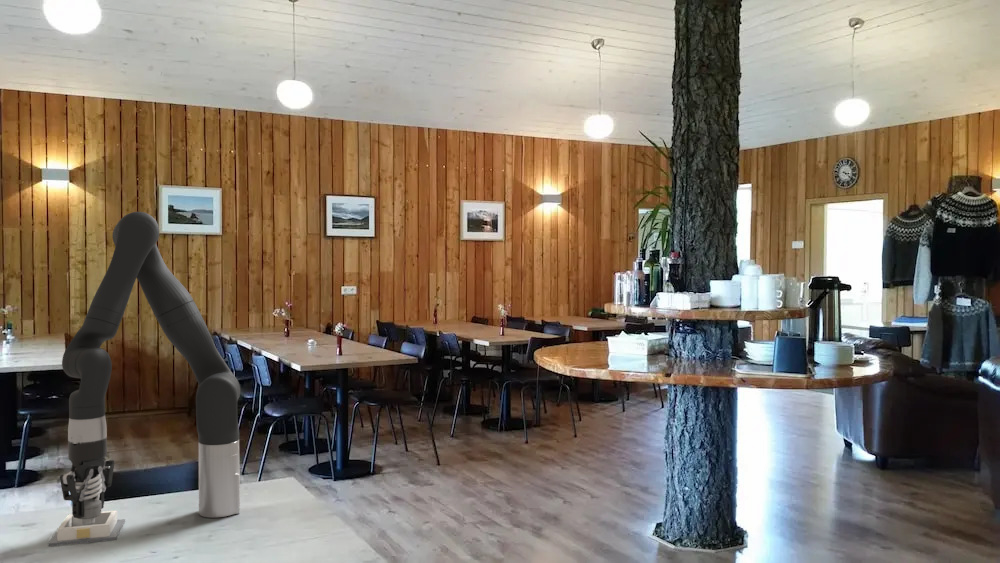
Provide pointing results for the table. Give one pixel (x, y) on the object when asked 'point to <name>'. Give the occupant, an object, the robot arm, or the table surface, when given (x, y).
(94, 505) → the light bulb
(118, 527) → the slate board
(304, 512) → the table surface
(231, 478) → the robot arm
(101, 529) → the cream square tray
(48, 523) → the table surface
